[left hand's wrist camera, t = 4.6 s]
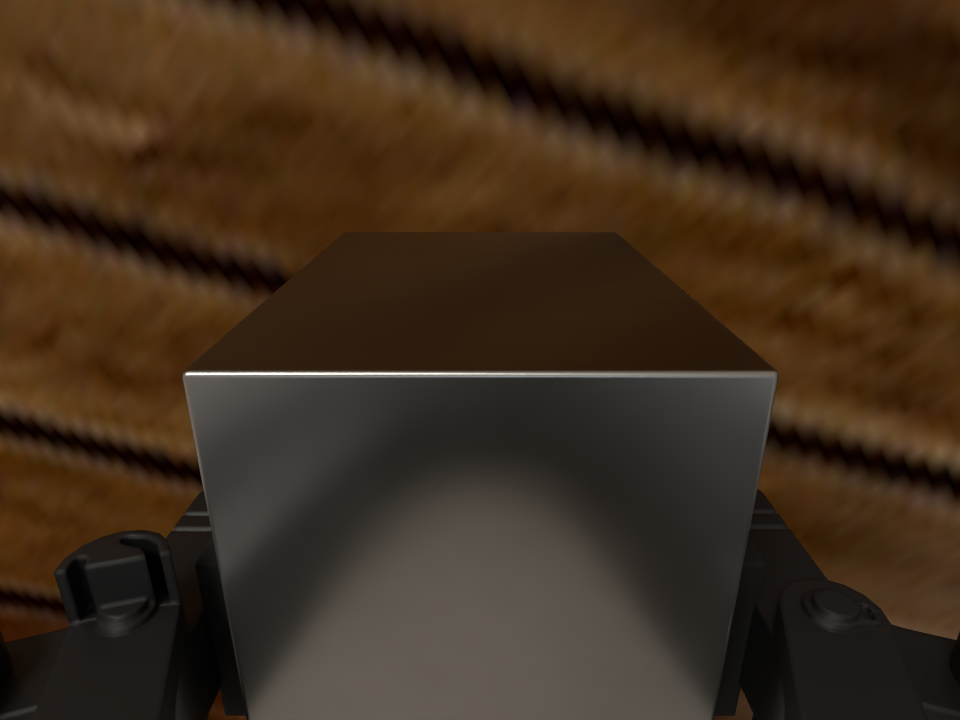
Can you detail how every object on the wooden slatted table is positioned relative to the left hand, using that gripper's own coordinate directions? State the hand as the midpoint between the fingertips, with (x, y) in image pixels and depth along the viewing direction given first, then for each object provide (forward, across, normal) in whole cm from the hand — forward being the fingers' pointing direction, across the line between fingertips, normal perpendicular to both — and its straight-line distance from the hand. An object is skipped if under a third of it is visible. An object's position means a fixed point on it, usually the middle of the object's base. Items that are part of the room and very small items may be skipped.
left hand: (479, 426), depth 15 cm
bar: (0, 0, -8) cm, 8 cm away
